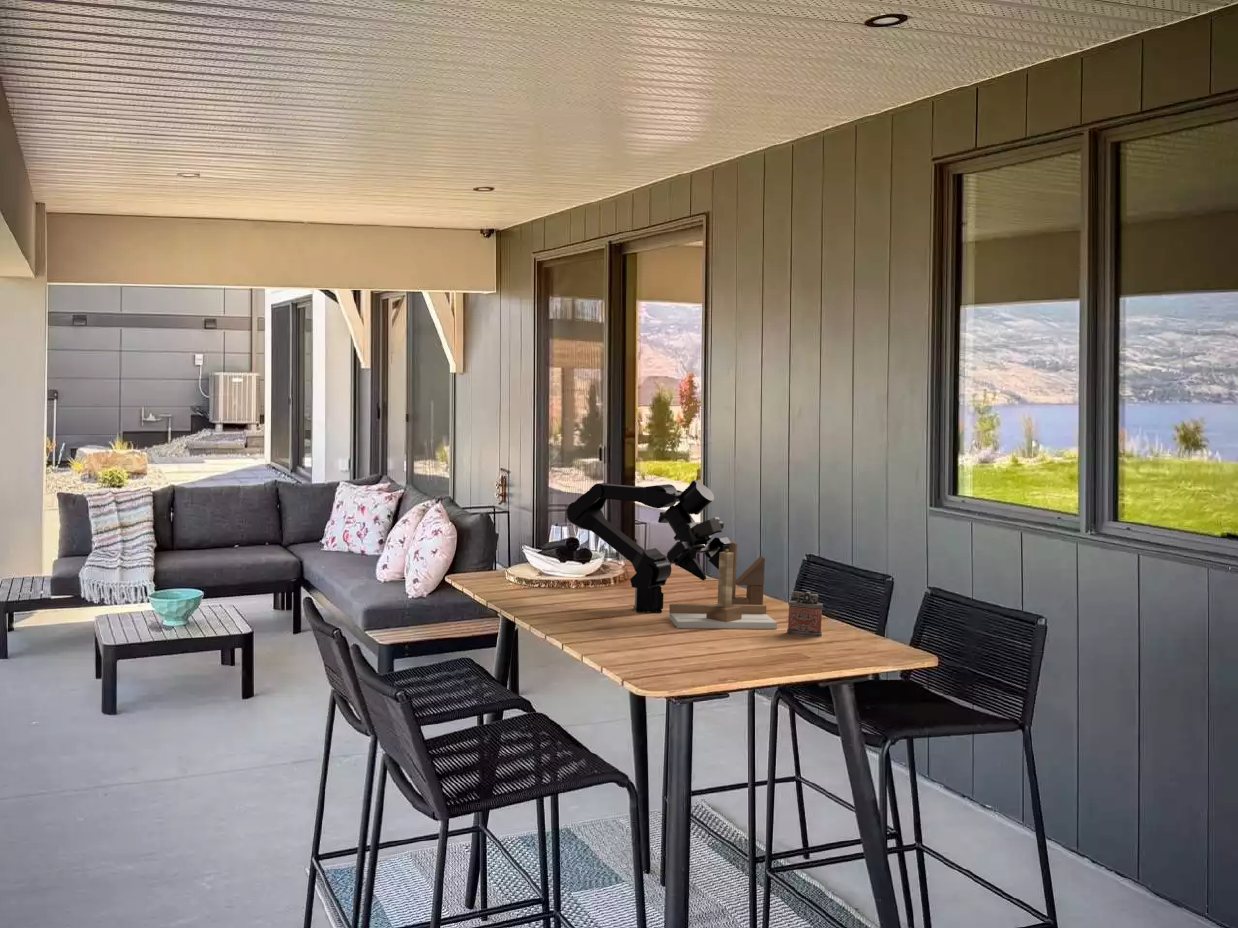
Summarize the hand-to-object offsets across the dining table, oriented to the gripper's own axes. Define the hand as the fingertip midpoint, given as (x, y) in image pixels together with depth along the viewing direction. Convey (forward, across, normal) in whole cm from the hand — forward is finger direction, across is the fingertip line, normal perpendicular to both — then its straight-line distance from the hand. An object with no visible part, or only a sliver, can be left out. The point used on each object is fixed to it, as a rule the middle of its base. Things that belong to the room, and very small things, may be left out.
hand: (716, 577), depth 284 cm
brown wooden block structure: (+4, +17, +12) cm, 21 cm away
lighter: (+23, +7, -7) cm, 25 cm away
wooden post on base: (+9, 0, +5) cm, 10 cm away
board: (+9, +1, +7) cm, 11 cm away
